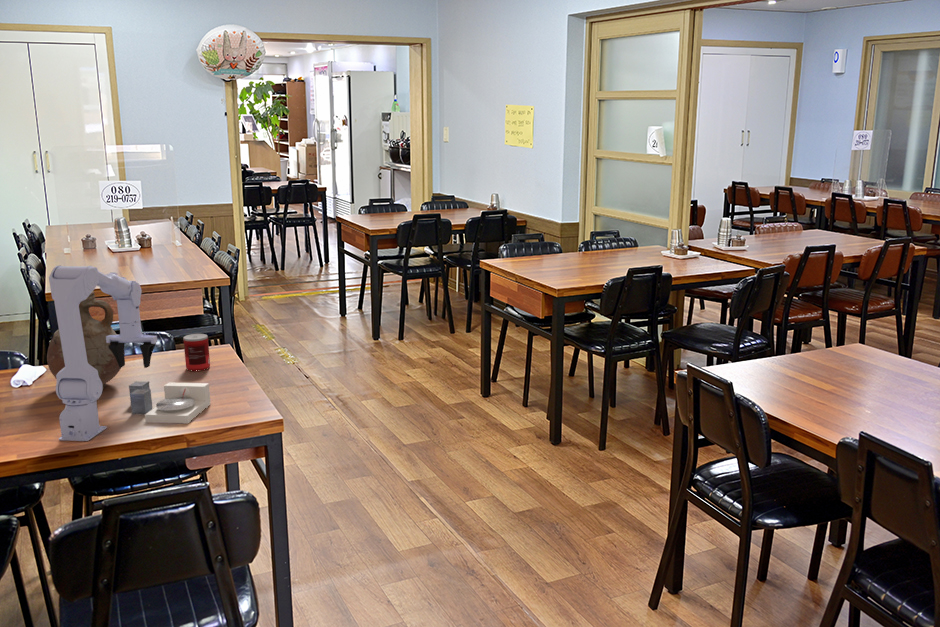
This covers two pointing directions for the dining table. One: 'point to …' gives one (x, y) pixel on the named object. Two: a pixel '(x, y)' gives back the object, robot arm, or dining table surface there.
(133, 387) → the block
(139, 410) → the block
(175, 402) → the pan
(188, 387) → the scale
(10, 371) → the dining table surface
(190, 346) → the canned food
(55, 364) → the jug
